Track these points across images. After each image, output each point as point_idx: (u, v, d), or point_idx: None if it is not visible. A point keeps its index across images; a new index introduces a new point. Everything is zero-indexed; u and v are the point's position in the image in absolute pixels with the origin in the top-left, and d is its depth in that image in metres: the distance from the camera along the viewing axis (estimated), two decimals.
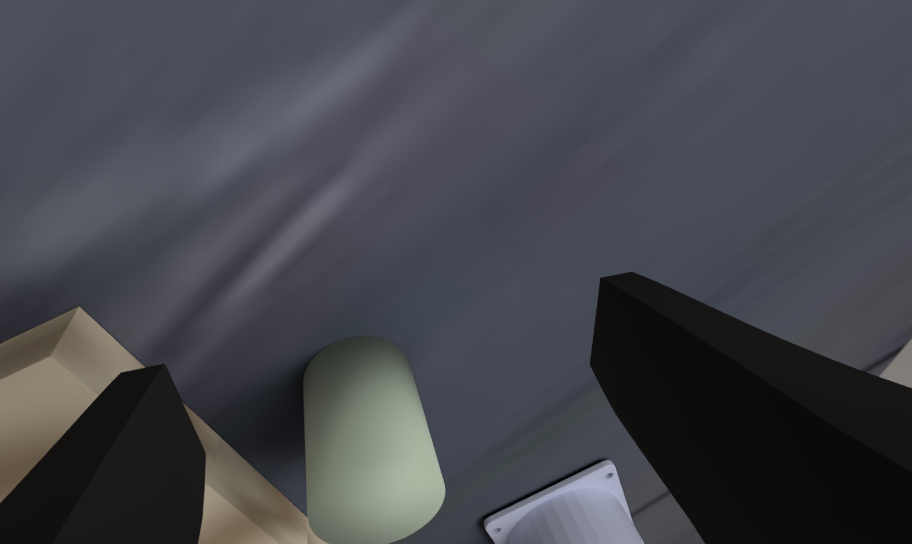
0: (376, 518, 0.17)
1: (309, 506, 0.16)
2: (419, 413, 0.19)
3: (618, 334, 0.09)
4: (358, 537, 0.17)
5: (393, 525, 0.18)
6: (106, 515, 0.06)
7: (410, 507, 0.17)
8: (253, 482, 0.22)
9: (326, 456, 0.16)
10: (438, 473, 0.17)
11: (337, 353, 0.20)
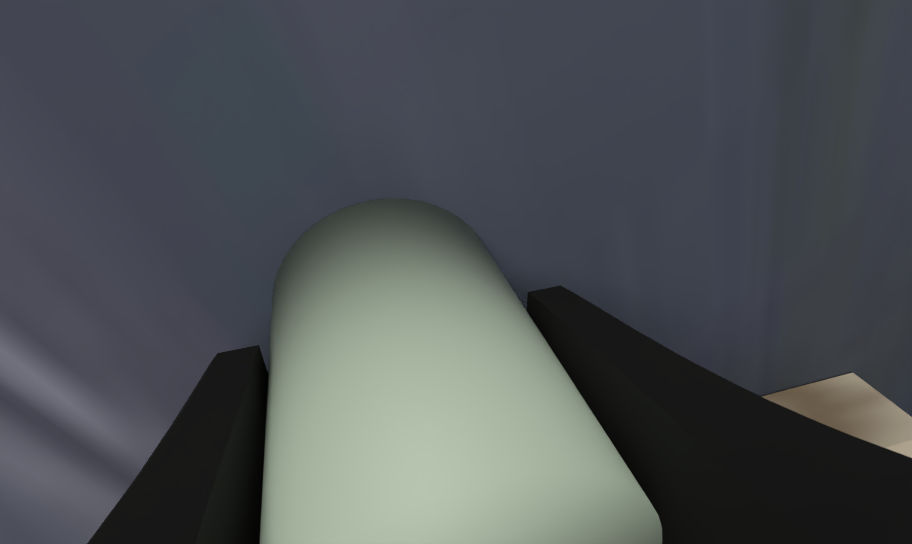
0: None
1: None
2: (383, 322, 0.06)
3: None
4: None
5: None
6: (235, 483, 0.06)
7: None
8: None
9: None
10: (453, 486, 0.04)
11: None
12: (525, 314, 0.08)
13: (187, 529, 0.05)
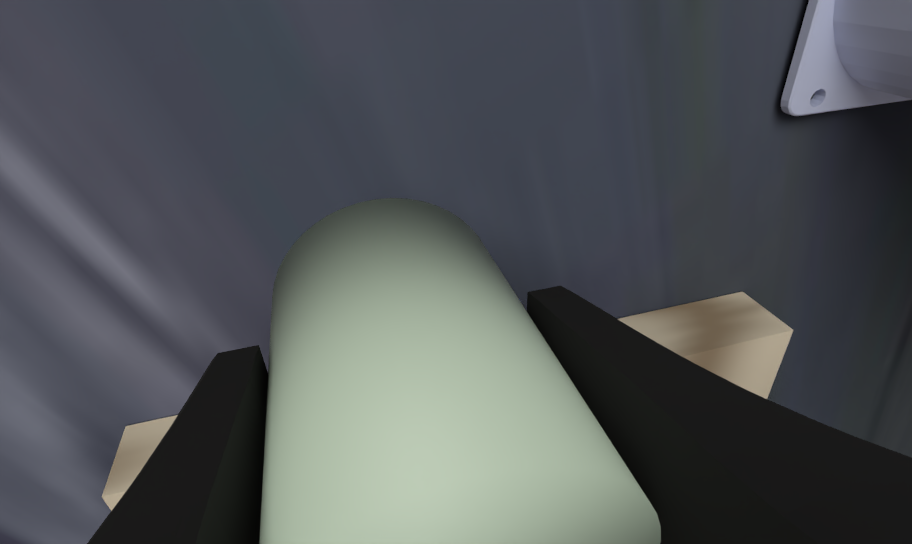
0: None
1: None
2: (382, 321, 0.06)
3: None
4: None
5: None
6: (235, 483, 0.06)
7: None
8: None
9: None
10: (452, 485, 0.04)
11: None
12: (524, 313, 0.08)
13: (187, 529, 0.05)
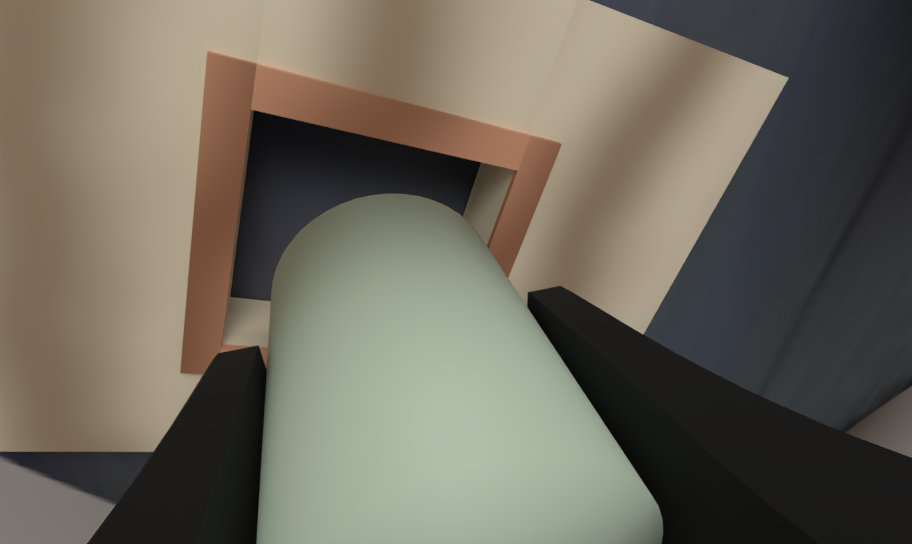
0: None
1: None
2: (380, 315, 0.06)
3: None
4: None
5: None
6: (235, 483, 0.06)
7: (548, 543, 0.05)
8: None
9: None
10: (449, 476, 0.04)
11: None
12: (524, 307, 0.08)
13: (187, 529, 0.05)
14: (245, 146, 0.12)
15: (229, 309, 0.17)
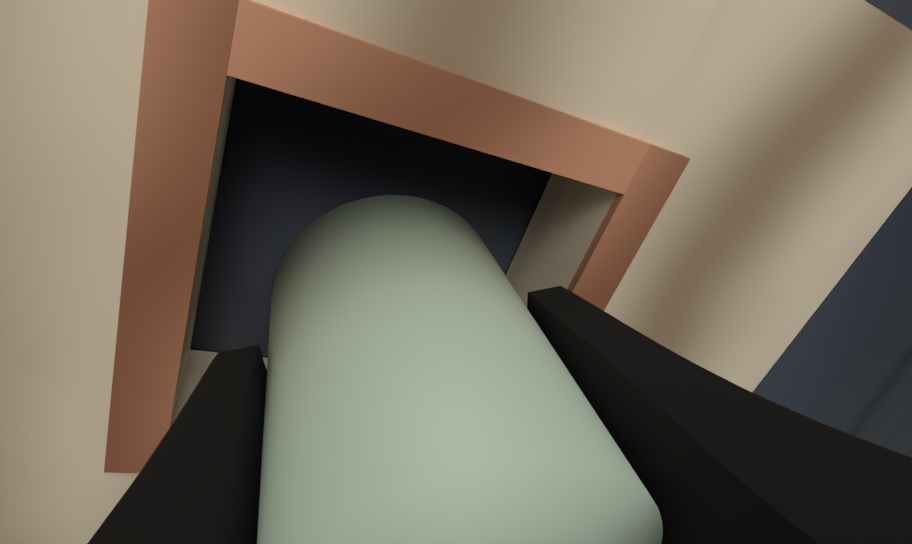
0: None
1: None
2: (380, 316, 0.06)
3: None
4: None
5: None
6: (235, 483, 0.06)
7: None
8: None
9: None
10: (449, 478, 0.04)
11: None
12: (524, 308, 0.08)
13: (187, 529, 0.05)
14: (215, 136, 0.08)
15: (187, 370, 0.12)
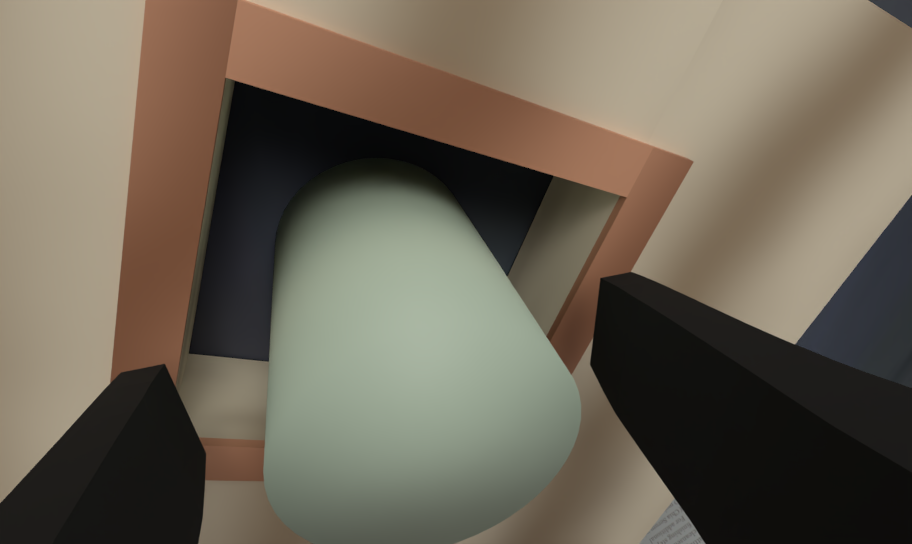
0: (470, 463, 0.07)
1: None
2: (363, 241, 0.08)
3: (618, 334, 0.09)
4: (504, 492, 0.08)
5: (521, 437, 0.07)
6: (106, 515, 0.06)
7: (487, 403, 0.07)
8: None
9: None
10: (407, 335, 0.06)
11: None
12: (483, 245, 0.09)
13: None
14: (213, 140, 0.07)
15: (185, 374, 0.12)
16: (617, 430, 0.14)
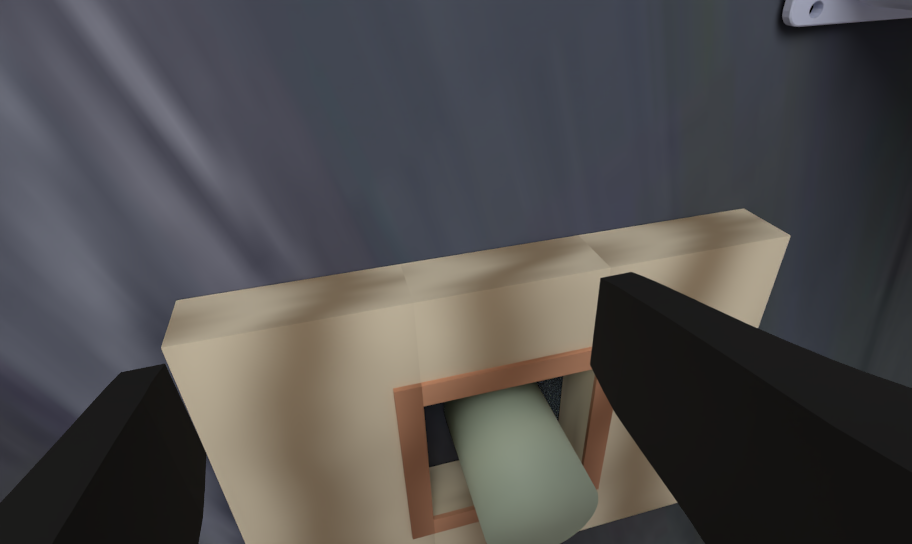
0: (557, 515, 0.19)
1: None
2: (489, 438, 0.20)
3: (618, 334, 0.09)
4: (577, 519, 0.20)
5: (574, 501, 0.19)
6: (107, 515, 0.06)
7: (555, 497, 0.18)
8: (473, 262, 0.19)
9: None
10: (517, 491, 0.18)
11: None
12: (539, 412, 0.21)
13: None
14: (424, 423, 0.20)
15: None
16: None
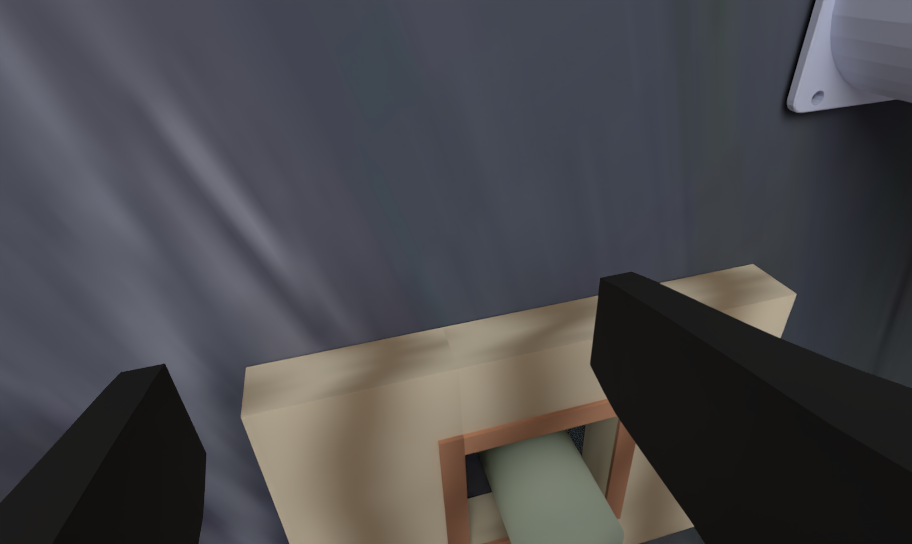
0: None
1: None
2: (524, 482, 0.22)
3: (618, 334, 0.09)
4: None
5: (602, 539, 0.21)
6: (106, 515, 0.06)
7: (586, 536, 0.20)
8: (508, 325, 0.21)
9: None
10: (553, 533, 0.20)
11: None
12: (567, 455, 0.23)
13: None
14: (465, 469, 0.22)
15: None
16: None
